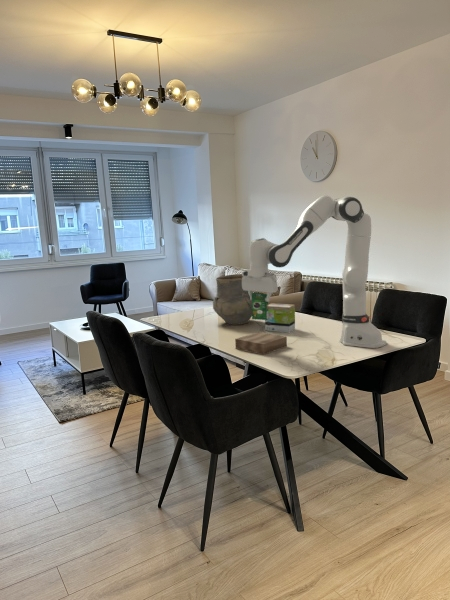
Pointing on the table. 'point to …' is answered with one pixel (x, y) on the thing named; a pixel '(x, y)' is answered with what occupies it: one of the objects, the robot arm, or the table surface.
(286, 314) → the tea box
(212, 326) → the table surface
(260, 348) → the block
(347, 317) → the robot arm
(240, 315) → the ceramic pot
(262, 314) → the coffee box
